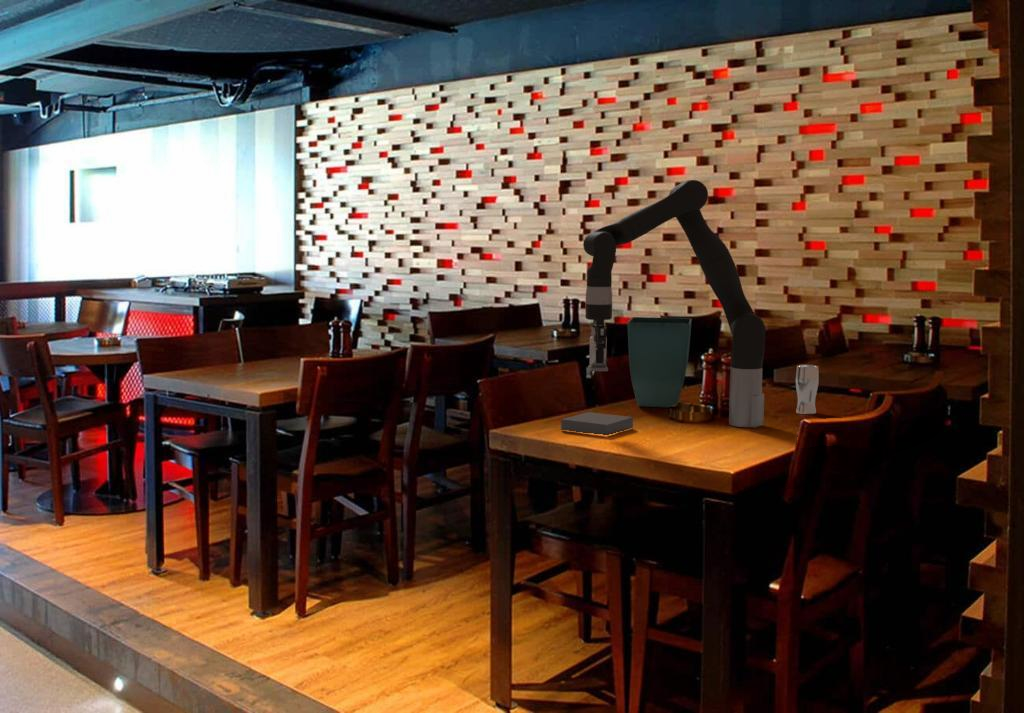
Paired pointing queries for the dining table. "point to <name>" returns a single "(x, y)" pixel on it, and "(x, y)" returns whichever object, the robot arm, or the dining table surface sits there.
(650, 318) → the flower pot
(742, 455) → the dining table surface
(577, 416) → the slate block
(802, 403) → the beer glass
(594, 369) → the salt shaker
